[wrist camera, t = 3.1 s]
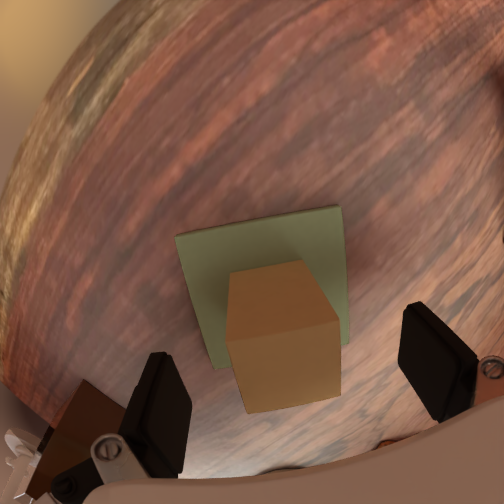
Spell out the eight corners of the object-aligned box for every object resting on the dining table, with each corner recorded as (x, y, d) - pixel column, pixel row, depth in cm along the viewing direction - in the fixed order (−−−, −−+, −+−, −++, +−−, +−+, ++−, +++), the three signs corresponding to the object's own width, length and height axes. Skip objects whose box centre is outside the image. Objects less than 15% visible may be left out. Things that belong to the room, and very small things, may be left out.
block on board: (214, 364, 18) (206, 448, 11) (176, 234, 15) (132, 287, 9) (346, 338, 18) (386, 413, 11) (337, 204, 15) (404, 236, 8)
